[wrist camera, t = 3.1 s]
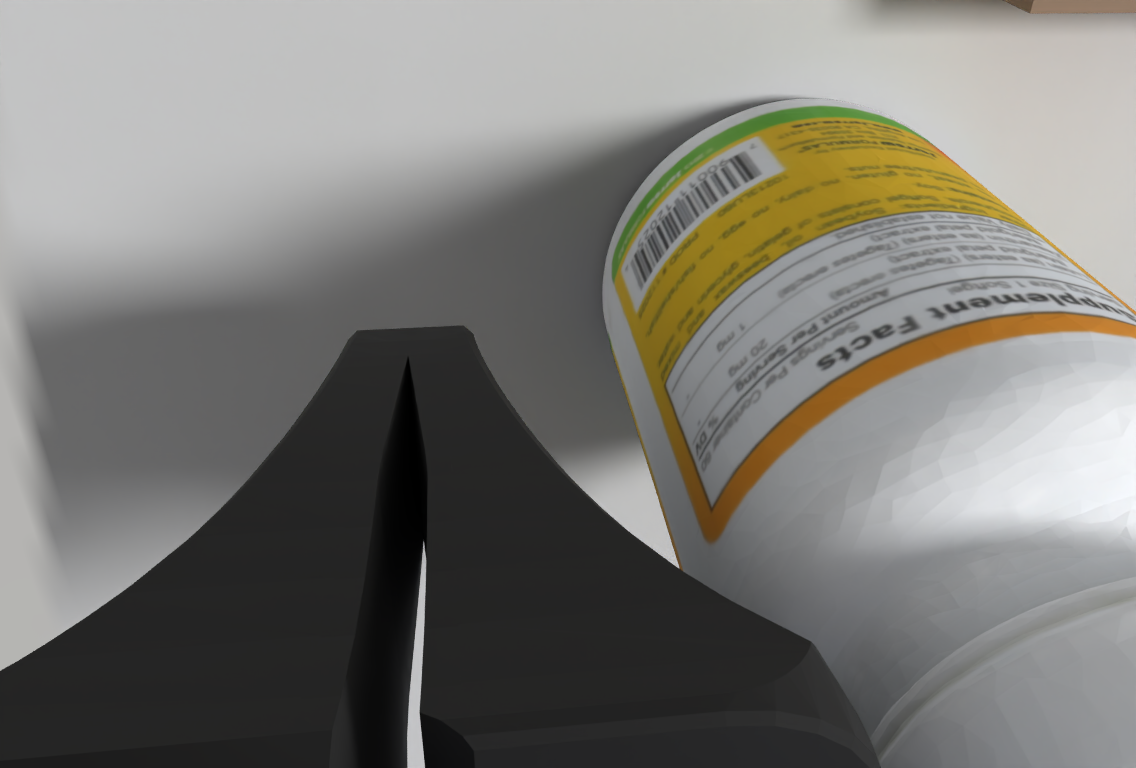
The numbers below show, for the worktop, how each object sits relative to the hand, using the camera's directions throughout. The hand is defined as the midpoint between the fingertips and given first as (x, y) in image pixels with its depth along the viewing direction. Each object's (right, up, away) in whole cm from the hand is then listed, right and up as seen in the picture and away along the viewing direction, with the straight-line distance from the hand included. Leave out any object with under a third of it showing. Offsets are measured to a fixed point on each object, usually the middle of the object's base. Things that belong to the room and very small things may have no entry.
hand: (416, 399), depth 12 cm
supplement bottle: (+5, +2, +3) cm, 6 cm away
